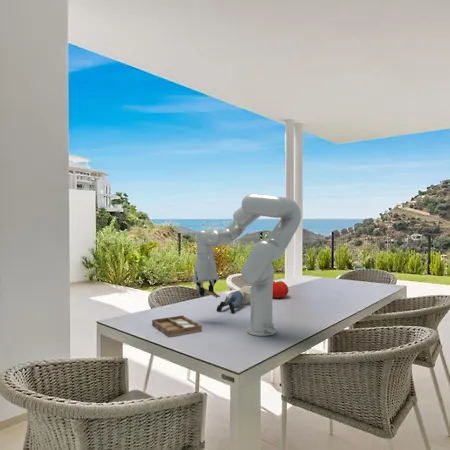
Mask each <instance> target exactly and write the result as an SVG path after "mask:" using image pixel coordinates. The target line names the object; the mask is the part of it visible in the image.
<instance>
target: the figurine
mask: <svg viewBox="0 0 450 450" xmlns="http://www.w3.org/2000/svg"><path fill="white" fill-rule="evenodd" d="M195 285H196V284H195ZM195 290H196V291H197V292H199V287H198V286H197V285H196V286H195ZM204 295H206V296H207V295H208V296H212V297H215V298H216V299H218V298H220V297H221V296H220V295H219V294H217V293H216V292H215V291H210V290H209V289H207V288H205V287H204Z"/></svg>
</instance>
